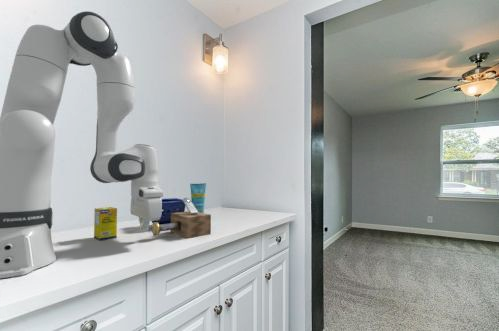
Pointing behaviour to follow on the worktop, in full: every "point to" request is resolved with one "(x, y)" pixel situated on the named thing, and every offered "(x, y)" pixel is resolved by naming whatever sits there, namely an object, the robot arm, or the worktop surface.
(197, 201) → the tube
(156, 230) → the pin
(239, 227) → the worktop surface
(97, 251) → the worktop surface
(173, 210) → the flower pot
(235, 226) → the worktop surface
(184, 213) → the block
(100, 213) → the supplement box
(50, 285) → the worktop surface
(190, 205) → the keeper
